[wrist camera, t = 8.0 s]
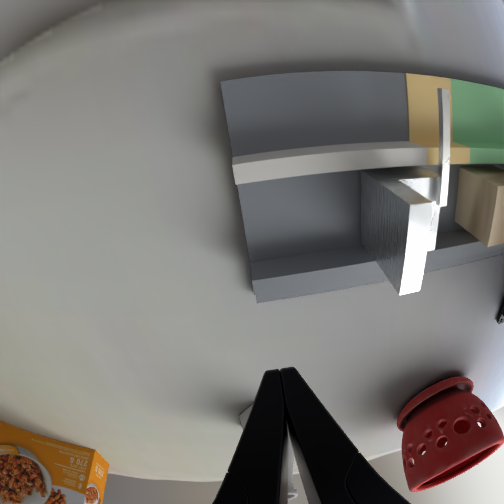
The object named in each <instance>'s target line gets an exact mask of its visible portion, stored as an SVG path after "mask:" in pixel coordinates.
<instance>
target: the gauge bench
mask: <svg viewBox="0 0 504 504" xmlns="http://www.w3.org/2000/svg"><path fill="white" fill-rule="evenodd" d="M220 83H221V90H222V96H223V102H224V108H225V114H226V120H227V126H228V132H229V139H230V145H231V151H232V157H233V158H232V167H233V173H234V179H235V185H237V187H238V193H239V199H240V205H241V211H242V217H243V223H244V229H245V235H246V241H247V247H248V253H249V259H250V267H251V278H252V285H253V291H254V295H256V301H257V303H260V302H267V301H273V300H280V299H286V298H293V297H299V296H305V295H311V294H317V293H323V292H329V291H335V290H340V289H346V288H351V287H357V286H362V285H367V284H373V283H378V282H383V281H388V280H389V279H388V278H387V277H386V275H385V274H384V272H383V271H382V270H381V268H380V267H379V266H378V264H377V263H376V261H375V260H374V259H373V257H372V256H371V255H370V253H369V252H368V251H367V249H366V248H365V247H364V245H363V244H362V243H361V170H363V169H376V168H389V167H405V166H423V167H425V168H427V169H429V170H431V171H433V172H434V173H436V174H438V163H439V111H438V92H437V88H443V89H449V99H450V166H449V182H448V194H447V204H446V206H441V207H440V213H439V221H438V229H437V236H436V243H435V250H431V251H427V254H426V260H425V266H424V272H423V273H426V272H431V271H435V270H440V269H444V268H448V267H453V266H457V265H461V264H465V263H470V262H474V261H478V260H482V259H486V258H490V257H494V256H497V255H501V254H502V253H503V250H504V243H503V244H499V245H494V246H490V247H487V246H486V245H484V244H483V243H482V242H481V241H479V240H478V239H477V238H476V237H474V236H473V235H472V234H471V233H469V232H468V231H467V230H466V229H464V228H463V227H462V226H460V225H459V224H458V223H456V222H455V221H454V220H455V212H456V204H457V194H458V184H459V170H460V167H498V168H500V169H502V170H504V89H500V88H496V87H492V86H488V85H483V84H478V83H473V82H468V81H462V80H456V79H450V78H443V77H436V76H428V75H419V74H409V73H395V72H377V71H315V72H297V73H284V74H273V75H263V76H255V77H247V78H240V79H233V80H226V81H220Z"/></svg>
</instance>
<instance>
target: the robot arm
mask: <svg viewBox="0 0 504 504" xmlns="http://www.w3.org/2000/svg"><path fill="white" fill-rule="evenodd" d="M503 322H504V303H503V305H502V308H501V310H500V313H499V315H498V318H497V323H498V324H501V323H503ZM287 426H288V427H287ZM288 432H289V437H290V441H291V445H292V448H293V452H294V455H295V459H296V462H297V466H298V469H299V473H300V476H301V479H302V483H303V486H304V489H305V493H306V496H307V500H308V503H309V504H411V503H409V502H408V501H407V500H406V499H405V498H403V497H402V496H401V495H400V494H399V493H398V492H397V491H395V490H394V489H393V488H392V487H391V486H390V485H389V484H388V483H387V482H386V481H385V480H384V479H383V478H382V477H381V476H380V475H379V474H378V473H377V472H376V471H375V470H374V468H373V467H372V466H371V465H370V464H369V463H368V462H367V460H366V459H365V458H364V457H363V455H362V454H361V453H358V452H359V451H358V449H357V448H356V447H355V445H354V444H353V443H352V442H351V440H350V439H349V438H348V437H347V435H346V434H345V433H344V431H343V430H342V429H341V428H340V426H339V425H338V424H337V422H336V421H335V420H334V419H333V417H332V416H331V415H330V413H329V412H328V411H327V409H326V408H325V407H324V406H323V404H322V403H321V402H320V400H319V399H318V398H317V396H316V395H315V394H314V392H313V391H312V390H311V388H310V387H309V386H308V384H307V383H306V382H305V380H304V379H303V378H302V376H301V375H300V374H299V372H298V371H297V370H296V369H295V368H294V367H288V368H282V369H281V370H280V371H279V370H278V369H275V370H267V371H265V373H264V375H263V378H262V381H261V384H260V387H259V389H258V392H257V395H256V398H255V400H254V403H253V406H252V409H251V411H250V414H249V417H248V419H247V422H246V425H245V427H244V430H243V433H242V435H241V438H240V440H239V443H238V446H237V448H236V451H235V453H234V456H233V458H232V461H231V463H230V466H229V468H228V472H229V473H228V472H227V473H226V475H225V478H224V480H223V482H222V485H221V487H220V489H219V491H218V493H217V495H216V498H215V500H214V502H213V503H212V504H287V503H288V451H289V440H288Z"/></svg>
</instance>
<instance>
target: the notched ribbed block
mask: <svg viewBox="0 0 504 504" xmlns="http://www.w3.org/2000/svg"><path fill="white" fill-rule="evenodd" d="M437 92H438V111H439V163H438V174H436V173H434V172H433V171H431V170H429V169H427V168H425V167H423V166H405V167H389V168H376V169H363V170H361V243H362V244H363V245H364V247H365V248H366V249H367V251H368V252H369V253H370V255H371V256H372V257H373V259H374V260H375V261H376V263H377V264H378V266H379V267H380V268H381V270H382V271H383V272H384V274H385V275H386V277H387V278H388V279H389V281H390V282H391V284H392V285H393V287H394V288H395V289H396V291H397V292H398V294H399V295H403V294H407V293H412V292H416V291H420V288H421V282H422V277H423V272H424V266H425V260H426V254H427V251H431V250H435V243H436V236H437V229H438V221H439V213H440V207H441V206H446V204H447V194H448V182H449V166H450V99H449V89H443V88H437Z"/></svg>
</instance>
